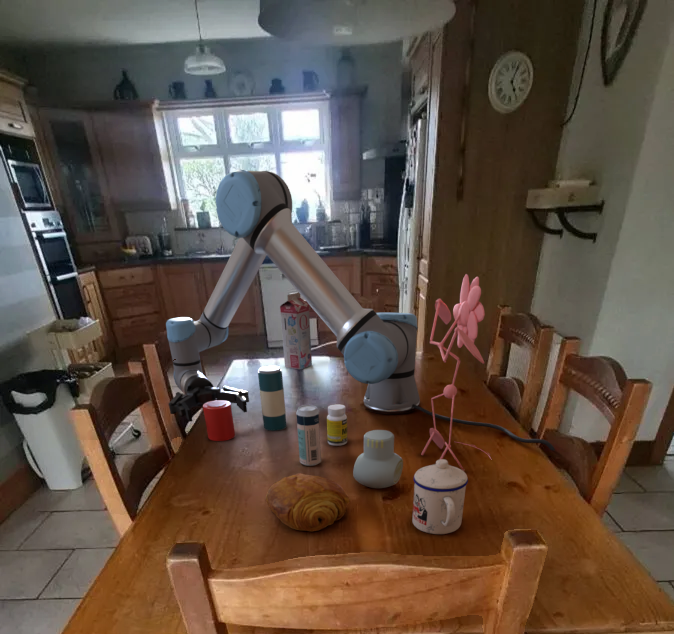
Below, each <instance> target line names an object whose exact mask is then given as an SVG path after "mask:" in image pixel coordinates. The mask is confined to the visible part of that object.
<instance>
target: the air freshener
mask: <svg viewBox="0 0 674 634" xmlns="http://www.w3.org/2000/svg"><path fill="white" fill-rule="evenodd" d="M403 469H404V459H403V458H402V457H401V456H400V455H399V454H397V453H396V452H395V434H394V433H393V432H391V431H390V430H386V429H373V430H369V431H367V432H365V434H364V435H363V452H362V453H361V454H359V455H358V456H357V458H356V460H355V462H354V466H353V470H352V475H353V478H354V480H355V481H357V482H358V483H359V484H360V485H362V486H364V487H368V488H371V489H385V488H389V487H392V486H394V485H397V483H398V482H399V481H400V478H401V476H402V474H403V473H402V472H403Z"/></svg>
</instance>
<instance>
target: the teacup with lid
mask: <svg viewBox="0 0 674 634" xmlns="http://www.w3.org/2000/svg"><path fill="white" fill-rule="evenodd" d="M413 482H414V486H413V502H412V503H413V504H412V516H411V517H412V519H411V521H412V524H413V527H415V528H416V529H417V530H419V531H421V532H424V533H427V534H431V535H445V534H451V533H454V532H455V531H457V530H459V528H460V527H461V525H462V522H463V521H462V520H463V512H464V505H465V504H464V503H465V496H466V488H467V485H468V483H469V478H468V475H467V473H466V472H465V470H464V471H463V470H462V469H461V468H460V467H457V466H453V465H451V464H449V461H448V460H447V459H444V458H443V459H440V458H439V459H437V460H436V461H435V463H433V464H430V465H425V466H423V467H420V468H419V469H417V471H415V473H414V475H413Z"/></svg>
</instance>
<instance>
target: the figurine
mask: <svg viewBox="0 0 674 634" xmlns="http://www.w3.org/2000/svg"><path fill="white" fill-rule="evenodd" d="M481 296H482V288H481V286H480V277H479V276H476V277H475V278H473V279H472V281H471V283H470V278H469V274H467V273H465V275H464V277H463V279H462V283H461V288H460V293H459V303H456V304H454V306H453V310H452V313H451V310H450V308H449V306H448V305H447V304H446V303H445V302H444V301H443V300H442V298H437V299H436V300H435V303H434V310H435V314H434V319H433V324H432V329H431V332H430V338H429V344H430V345H434V346H437V348H438V349H439V351H440V355H441V358H442V361H443V363H447V360H448V358H449V355H450V356H451V357H452V358H454V359H455V360H456V361H457V362H456V366H455V371H454V374H453V379H452V383H451V384H447V385H446V386H445V387H444V388H443V393H441V394H438V395H435V396H433V397H431V399H430V401H431V409H432V411H431V412H432V413H433V416H432V419H433V427H430V428H429V436H430V437H429V439H428V440H427V442H426V444H425V446H424V448H423V449H422V452H421V453H420V455H421V456H424V455H425V453H426V451H427V450H428V448H429V445H430V444H431V442H432V441H433V443H435V445H436V446H437V447H438V448H439V449H440V450H442V449H443V448H444V446H446V447H445V448H444V450H443V452H442V454H441V456H440V457H439V459H444V457H445V456H446V454H447V452H448V451H449V453H450V454H451V456H452V457H453V459H454V461H456V463H457V464H458V466H459V468H460V469H461V470H462V471H464V472H465V468H464V467H463V466H462V464H461V462H460V461H459V459H458V458H457V456H456V454H455V453H454V451H453V449H451V448H452V445H451V443H452V442H451V441H452V429H453V422H452V420H453V418H454V406H455V398H456V395H457V394H458V389H457V387H456V386H455V382H456V380H457V379H456V378H457V375H458V372H459V369H460V365H461V359H460V357H459V356H457V355H456V354H455V353H454V352H452V351H451V350H452V348H453V345H454V342H455V340H456V338H457V343H456V344H457V348H458V349H461V348H462V347H463V346H465V348H466V349H467V351H469V352H470V354H471V355H472V356H473V357H474V358H475V359H476V360H477V361H478V362H479V363H481V364H482V365H484V364H485V361H484V358H483V356H482V355H481V352H480V350H479V349H478V347H477V346H476V345H475V341H476V339H477V338H478V333H479V325H478V324H479V323H481V322H482V321H484V319H485V315H486V313H485V312H486V311H485V307H484V305H483V304H482V302H481V301H480V300H481V299H480V298H481ZM452 314H453V319H454V322H453V323H452V325H451V326H450V328H449V329H448V330H447V332H446V333H445V335H444V337H443V339H442V340H441V341H439V342H438V341H434V336H435V330H436V326H437V322H438V317H439V318H440V319H441V321H442V322H443V323H444V325H448V324H449V323H450V322H451V321H452ZM456 325H457V326H456ZM453 330H454V333H453V335H452V338H451V340H450V343H449V345H448V348H447V347H445V346H444V345H445V343H446V340H447V339H448V337H449V336H450V335H451V333H452V331H453ZM442 396H444V397H445V398H447V400H448V399H449V400H451V399H452V400H451V410H450V418H451V421H449V423H450V424H449V438H448V443H447V441H445V439H444V437H443V435H442V433H440V431H439V430H438V429H437V427H436V417H435V415H434V413H435V407H434V406H435V405H434V400H435V399H438V398H440V397H442ZM455 443H458V444H461V445H466V446H469V447H473V448H475V449H478V450H480V451H481V452H483V453H485V454H486V455H487V456H488V457H489V459H492V458H491V456H490V454H489V453H488V452H487V451H484V450H483V449H481V448H479V447H477V446H476V445H475V444H468V443H464V442H459V441H455Z"/></svg>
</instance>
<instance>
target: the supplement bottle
mask: <svg viewBox="0 0 674 634" xmlns="http://www.w3.org/2000/svg"><path fill="white" fill-rule="evenodd" d="M326 428H327V430H326V434H327V437H326V438H327V444H328V445H330V446H333V447H334V446H336V447H337V446H339V447H341V446H344V445H346V444H347V443H348V416H347V414H346V406H345V405H344V404H339V403H337V404H330V405H328V406H327V415H326Z"/></svg>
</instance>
